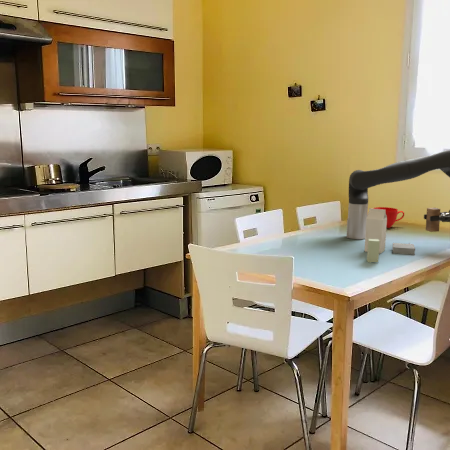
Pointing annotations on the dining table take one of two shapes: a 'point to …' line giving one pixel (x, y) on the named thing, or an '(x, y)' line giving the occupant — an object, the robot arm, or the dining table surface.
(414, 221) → the dining table surface
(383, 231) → the milk carton
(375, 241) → the sage block
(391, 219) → the ceramic cup
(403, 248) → the grey slab
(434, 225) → the walnut block
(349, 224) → the robot arm
